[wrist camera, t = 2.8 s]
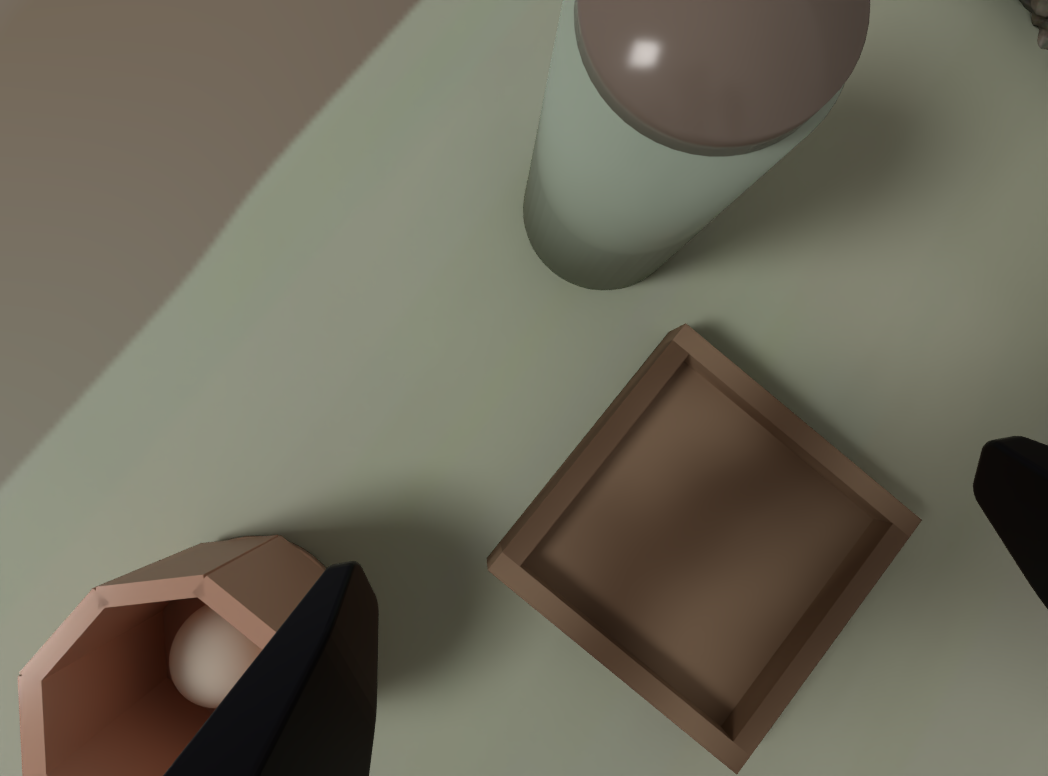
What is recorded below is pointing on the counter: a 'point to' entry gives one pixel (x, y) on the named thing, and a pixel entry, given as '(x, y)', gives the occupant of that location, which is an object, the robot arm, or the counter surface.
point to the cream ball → (209, 657)
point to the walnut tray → (704, 545)
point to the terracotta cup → (147, 656)
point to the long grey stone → (1039, 19)
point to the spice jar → (672, 120)
